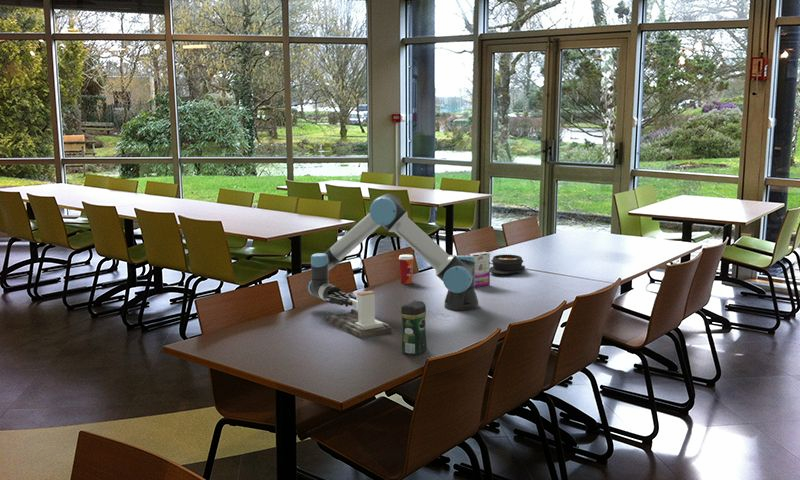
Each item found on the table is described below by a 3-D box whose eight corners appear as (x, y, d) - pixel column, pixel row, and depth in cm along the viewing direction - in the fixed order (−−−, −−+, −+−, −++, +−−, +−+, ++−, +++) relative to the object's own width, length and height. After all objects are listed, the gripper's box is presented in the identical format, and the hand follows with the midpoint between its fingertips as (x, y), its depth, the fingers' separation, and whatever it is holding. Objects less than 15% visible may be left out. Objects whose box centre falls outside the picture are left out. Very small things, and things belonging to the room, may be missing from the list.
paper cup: (412, 284, 392) (412, 257, 389) (397, 284, 393) (397, 256, 391) (415, 281, 399) (414, 254, 397) (400, 280, 401) (400, 253, 399)
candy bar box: (484, 283, 392) (484, 251, 390) (490, 285, 388) (490, 253, 385) (465, 286, 387) (465, 253, 385) (470, 288, 383) (471, 255, 380)
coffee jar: (411, 346, 293) (410, 298, 289) (429, 349, 288) (429, 300, 285) (397, 353, 284) (397, 303, 281) (416, 356, 280) (416, 306, 277)
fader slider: (354, 326, 312) (354, 293, 310) (374, 322, 317) (373, 289, 314) (363, 330, 306) (362, 296, 304) (383, 326, 311) (382, 293, 308)
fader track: (325, 320, 328) (325, 313, 328) (354, 315, 336) (354, 308, 335) (360, 338, 303) (360, 330, 303) (391, 332, 311) (391, 324, 310)
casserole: (511, 278, 403) (512, 262, 401) (480, 274, 413) (480, 259, 412) (533, 270, 423) (533, 254, 421) (502, 266, 433) (503, 251, 432)
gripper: (344, 299, 341) (371, 311, 321) (317, 304, 334) (344, 316, 314) (343, 283, 339) (371, 293, 320) (316, 287, 332) (343, 298, 313)
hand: (357, 304), depth 317 cm, fingers closed
